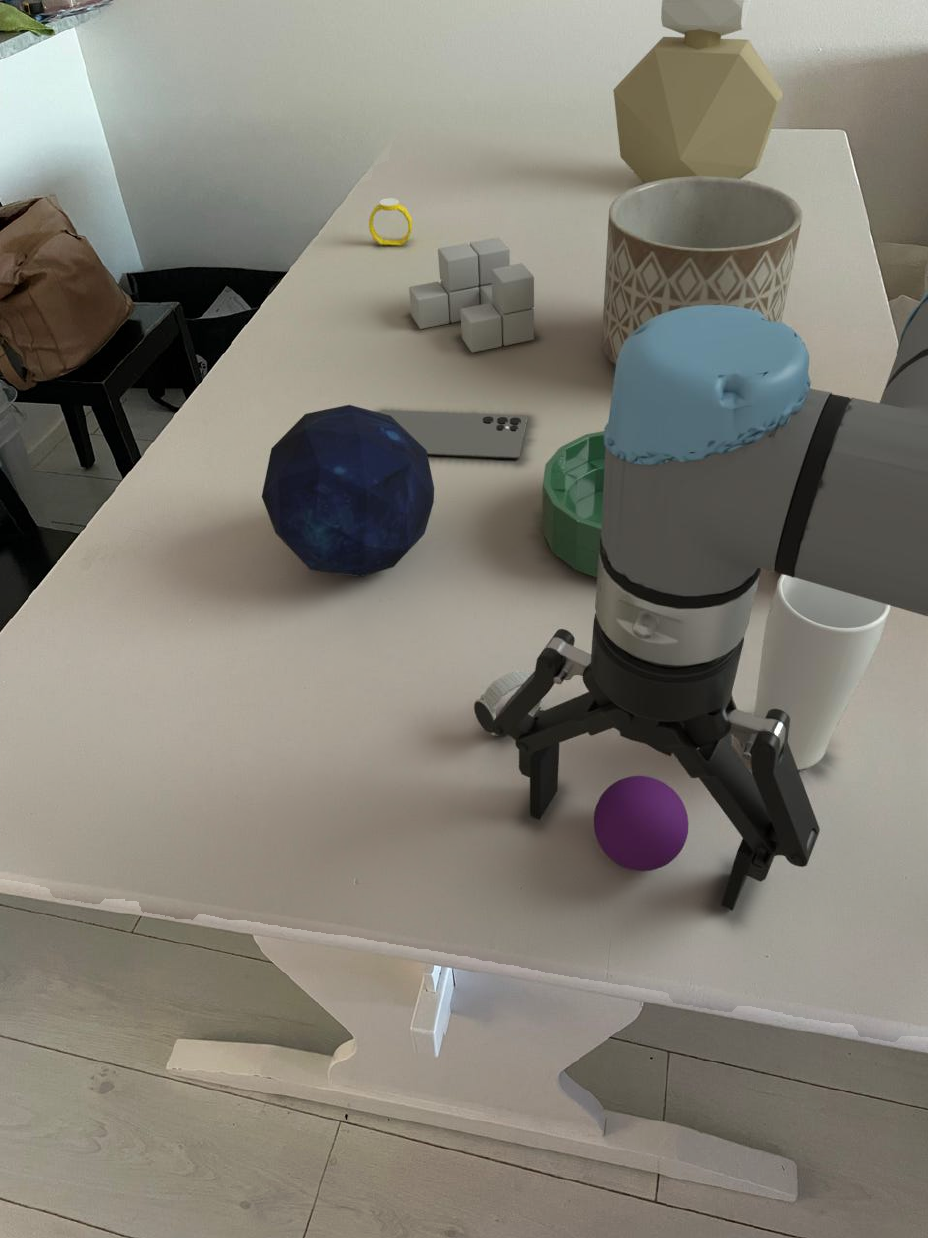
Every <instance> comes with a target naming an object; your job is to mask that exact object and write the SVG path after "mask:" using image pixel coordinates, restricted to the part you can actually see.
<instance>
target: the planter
mask: <svg viewBox="0 0 928 1238" xmlns="http://www.w3.org/2000/svg"><path fill="white" fill-rule="evenodd" d="M607 221H608V223H607V239H606V240H607V241H606V259H605V277H604V295H603V312H602V313H603V314H602V330H601V331H602V332H601V344H602V349H603V351H604V353H605V355H606V356H607V358H608V359H609V360H610V361H611V363H612V364H613V365H614V366H616V363H617V358H618V355H619V353H620V350H621V348H622V346H623V344H624V341H625V340H626V339H627V338H628V337H630V335H631V334H632V333H633V332H634V331H635V330H636V329H637V328H638V327H639V326H641V325H642V324H644V323H645V322H647V321H648V320H650V319H652V318H654V317H656V316H658V315H660V314H663V313H666V312H669V311H672V310H675V309H680V308H684V307H691V306H700V305H725V306H735V307H741V308H746V309H751V310H755V311H758V312H761V313H762V314H763V315H764V316H765V318H766V320H767V321H776V322H783V321H782V320H783V316H784V310H785V306H786V302H787V301H786V300H787V297H788V292H789V287H790V286H789V285H790V281H791V275H792V271H793V266H794V261H795V256H796V251H797V246H798V243H799V242H798V241H799V236H800V232H801V226H802V221H803V211H802V209H801V207H800V204H799V203H797V202H796V200H795V199H793V198H792V197H791V196H789V195H788V194H786V193H785V192H783V191H781V190H779V189H777V188H774V187H771V186H769V185H766V184H763V183H759V182H755V181H751V180H745V179H742V178H741V179H735V178H726V177H712V176H691V177H677V178H669V179H663V180H658V181H653V182H649V183H646V184H644V183H642V184H640V185H637V186H634V187H632V188H630V189H628V190H626V191H624V192H622V193H621V194H619V195H618V196H617V197H616V198H615V199H614V200H613V201H612V203H611V204H610V206H609V209H608V220H607Z"/></svg>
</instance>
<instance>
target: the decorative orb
mask: <svg viewBox="0 0 928 1238" xmlns="http://www.w3.org/2000/svg"><path fill="white" fill-rule="evenodd" d="M431 470H432V469H431V465H430V459H429V455H427V450H426V449H425V448H424V447H423V446H422V445H420V444H419V443H418V442H417V441H416V440H415V439H414V438H413V437H412V436H411V435H410V434H409V433H408V432H407V431H406V430H405V429H404V428H403V427H402V426H401V425H400V424H399V423H398V422H397V421H396V420H394V419H393V418H392V417H391V416H390V415H386V414H382V413H380V412H379V411H375V410H370V409H366V408H364V407H360V406H356V405H352V404H347V405H341V406H337V407H332V408H325V409H322V410H317V411H312V412H308V413H307V412H306V413H305V414H304V415H302V417H301V418H300V419H299V420H297V422H295V424H294V425H293V426H292V427H291V428H290V429H289V430H287V431H286V433H285V434H284V435H283V436H282V437H281V438H280V439H279V440H278V441H277V442H276V443H275V444H274V445H273V446H272V447H271V449H270V454H269V458H268V464H267V469H266V473H265V479H264V482H263V488H262V492H261V499H262V501H263V504H264V507H265V509H266V512H267V515H268V517H269V521H270V522H271V523H270V524H271V526H272V528H273V530H274V533H275V535H276V536H277V537H278V538H279V539H280V540H281V541H282V542H283V544H285V545H286V546H287V547H288V548H289V549H290V551H291V552H292V553H293V554H294V555H295V556H296V557H297V558H298V559H299V560H300V561H301V562H302V563H303V564H304V565H305V566H306V568H308V570H311V571H317V572H325V573H331V574H340V575H347V576H355V577H359V578H360V577H364V576H367V575H371V574H375V573H379V572H383V571H385V570H389V569H393V568H394V567H395V566H396V565H397V564H398V563H399V562H400V561H401V560H402V559H403V558H404V557H405V555H406V554H407V553H408V552H409V551H411V549H412V548H413V547H414V546H415V545H416V544H417V543H418V542H419V541H420V539H421V538H423V536H424V535H425V534H426V530H427V527H428V524H429V520H430V517H431V513H432V509H433V508H434V507H433V506H434V502H435V484H434V480H433V475H432V471H431Z"/></svg>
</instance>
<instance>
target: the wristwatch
mask: <svg viewBox="0 0 928 1238" xmlns="http://www.w3.org/2000/svg"><path fill="white" fill-rule="evenodd" d="M531 675H532V673H531V672H530V671H529V670H518V671H516V670H515V671H512V672H509V673H506V674H504V675H502V676H501V677H499V678H498V679H496V680H494V681H493V682H492V683H491V684H490V685H489V686H488V687H487V689H486V690H485V692H484V693H483V694H481V696H480V697H479V698H478V699H476V700H475V701H474V704H473V711H474V715H475V718H476V720H477V721H478V723H479V725H480V727H481V728H482V729H483V730H484V731H485V732H487V733H488V734H491V735H492V736H497V737H499V736H498V735H496V734H495V733H494V732H493V731H492V730H491V727H490V726H491V724H492V722H493V721H494V720H495V718H496V717H497V710H498V706H497V705H498V704H499V703H500V701H501V700H502V699H503V697H505V696H506V695H507V694H508V693H510V692H511V691H513V690H515V689H518V688H520V687H521V686H522V684H523V683H524V682H525V681H526V680H527V679H528V678H529V677H530V676H531ZM542 700H543V699H542ZM542 700H541V701H540V702H539V703H538V704H537V705H536V706H535V707H534V708H533V709H532V710H531V711H530V712H529V713H528V714H529V715H530V716H532V717H533V716H534V714H535V713H536V711H537V710H538V708H539V707H541V704H542ZM506 736H509V735H508V734H507V735H506Z"/></svg>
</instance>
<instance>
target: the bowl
mask: <svg viewBox="0 0 928 1238" xmlns="http://www.w3.org/2000/svg"><path fill="white" fill-rule="evenodd" d="M604 431H605V430H601V431H596V432H591V433H586V434H584V435H582V436H580V437H577V438H576V439H574V440H572V441H570V442H568V443H566V444H564V445H563V444H562V446H560V447H559V448H558V449H557V451H555V453H554V454H553V455H552V456H551V457H550V458H549V459H548V461H547V462H546V463H545V466H544V473H543V480H542V519H541V520H542V523H541V525H542V526H541V529H542V534H543V536H544V538H545V540H546V542H547V544H548V546H549V548H550V549H551V552H552V553H553V554H554V555H555V556H557V557H558V558H560V560H562V561H563V562H565V563H566V564H567V565H568V566H570V567H571V568H572V569H573V570H575V571H577V572H580V573H583V574H586V575H589V576H591V577H595V578H597V574H598V561H599V548H600V539H601V528H602V508H603V487H604V467H605V445H604V438H603V437H604Z"/></svg>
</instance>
